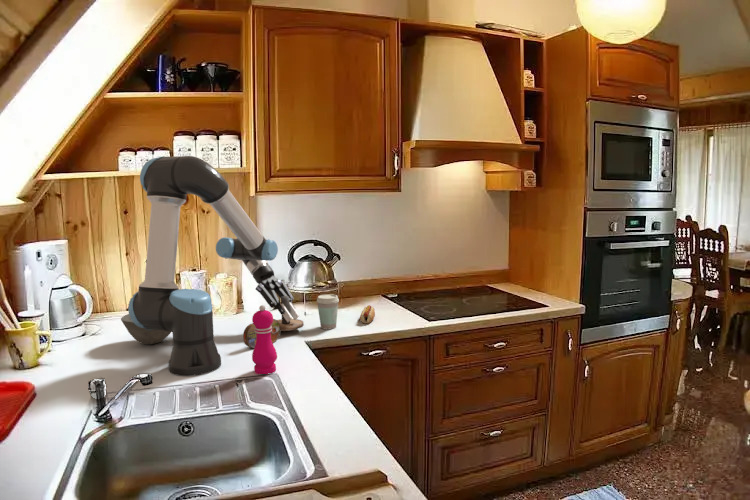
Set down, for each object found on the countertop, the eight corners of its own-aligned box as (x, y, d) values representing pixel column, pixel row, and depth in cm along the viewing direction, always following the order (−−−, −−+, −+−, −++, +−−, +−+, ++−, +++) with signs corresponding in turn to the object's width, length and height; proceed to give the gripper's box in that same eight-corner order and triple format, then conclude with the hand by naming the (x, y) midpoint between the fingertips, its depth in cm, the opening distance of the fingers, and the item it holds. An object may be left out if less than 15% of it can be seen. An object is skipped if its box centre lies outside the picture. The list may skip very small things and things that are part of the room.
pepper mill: (266, 377, 152) (263, 309, 149) (247, 373, 156) (244, 306, 153) (282, 369, 158) (279, 303, 156) (263, 365, 162) (260, 301, 159)
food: (372, 325, 205) (372, 312, 204) (358, 324, 206) (358, 312, 205) (376, 315, 219) (376, 303, 218) (363, 315, 219) (362, 303, 219)
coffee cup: (336, 330, 197) (335, 299, 196) (314, 329, 199) (313, 298, 198) (342, 324, 206) (341, 294, 204) (321, 323, 207) (320, 293, 206)
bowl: (151, 353, 174) (149, 324, 173) (111, 347, 182) (108, 319, 181) (192, 338, 191) (190, 311, 190) (154, 332, 199) (152, 306, 198)
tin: (248, 351, 176) (247, 326, 174) (242, 349, 177) (240, 325, 176) (282, 340, 187) (281, 316, 186) (275, 338, 189) (274, 315, 188)
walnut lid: (292, 331, 189) (291, 301, 188) (261, 328, 194) (260, 299, 192) (309, 322, 201) (309, 294, 200) (280, 320, 206) (279, 292, 204)
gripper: (271, 273, 211) (303, 320, 203) (239, 279, 198) (272, 329, 190) (280, 261, 207) (313, 308, 199) (248, 266, 194) (282, 317, 186)
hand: (293, 318), depth 195 cm, fingers closed on walnut lid, 3 cm apart
